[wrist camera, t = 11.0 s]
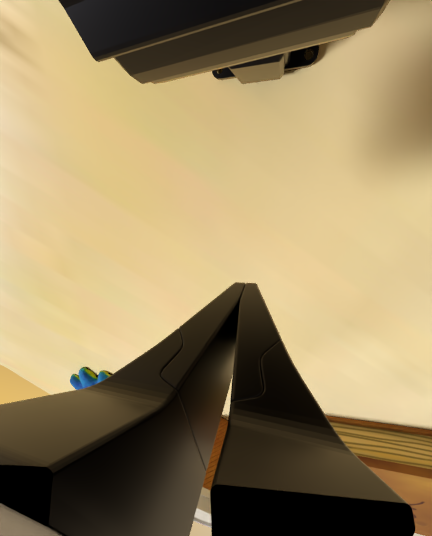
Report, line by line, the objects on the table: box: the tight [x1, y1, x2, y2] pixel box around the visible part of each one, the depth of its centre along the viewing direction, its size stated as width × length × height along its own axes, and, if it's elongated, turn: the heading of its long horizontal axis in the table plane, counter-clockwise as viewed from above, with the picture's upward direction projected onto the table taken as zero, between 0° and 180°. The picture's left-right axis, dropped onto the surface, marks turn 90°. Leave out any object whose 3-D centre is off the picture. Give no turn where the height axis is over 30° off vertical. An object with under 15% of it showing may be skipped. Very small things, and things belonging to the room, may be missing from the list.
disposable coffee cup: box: [193, 418, 228, 527], centre depth 36 cm, size 10×10×12 cm
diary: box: [326, 416, 432, 536], centre depth 31 cm, size 23×19×6 cm
